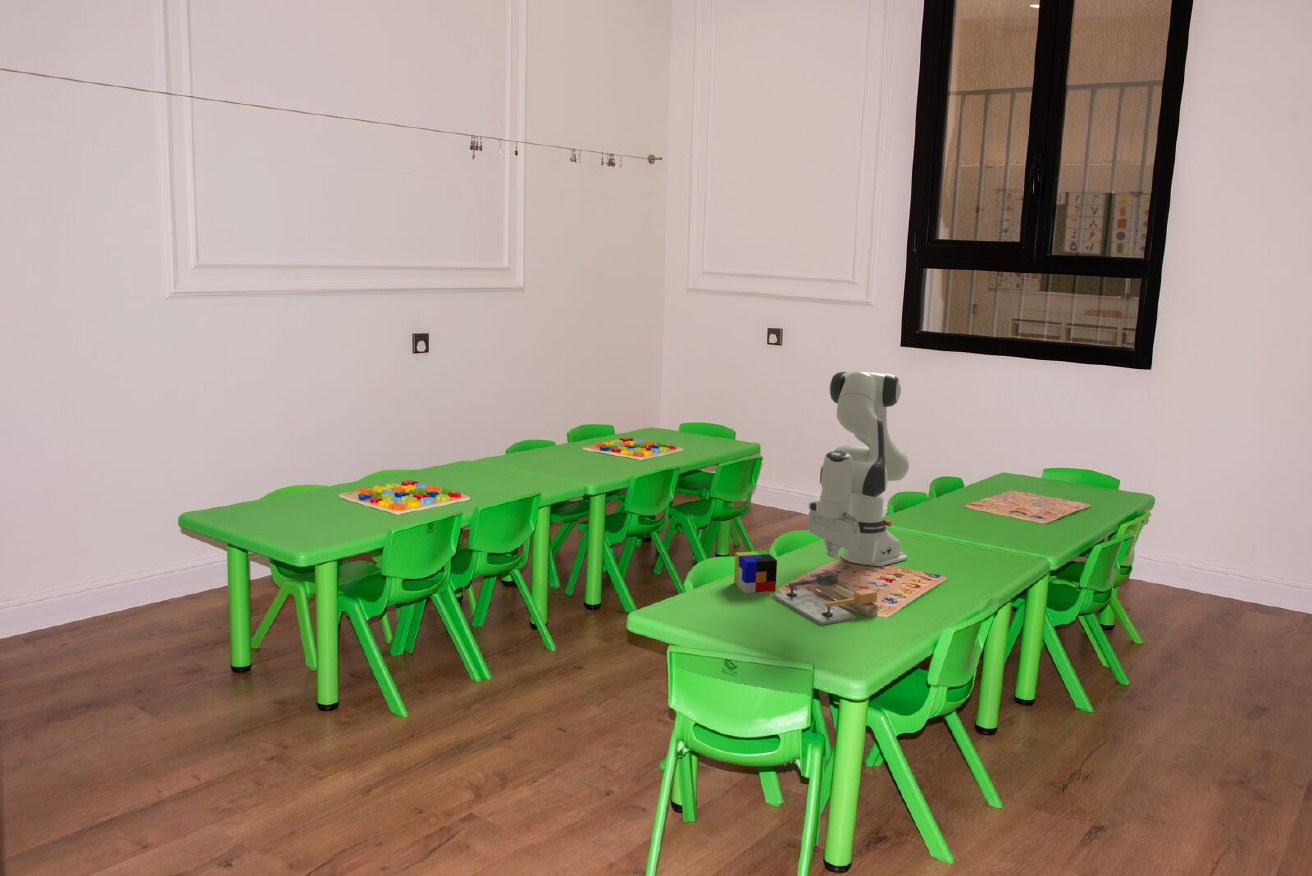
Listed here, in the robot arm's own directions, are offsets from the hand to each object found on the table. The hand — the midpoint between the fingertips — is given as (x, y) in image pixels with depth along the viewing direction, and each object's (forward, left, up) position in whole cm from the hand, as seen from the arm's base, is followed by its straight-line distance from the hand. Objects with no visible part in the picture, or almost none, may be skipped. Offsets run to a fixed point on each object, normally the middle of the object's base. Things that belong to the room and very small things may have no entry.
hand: (832, 556), depth 297 cm
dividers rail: (-7, -9, -18) cm, 22 cm away
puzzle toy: (+5, -31, -19) cm, 37 cm away
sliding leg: (-7, 0, -17) cm, 18 cm away
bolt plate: (-1, -9, -19) cm, 20 cm away
